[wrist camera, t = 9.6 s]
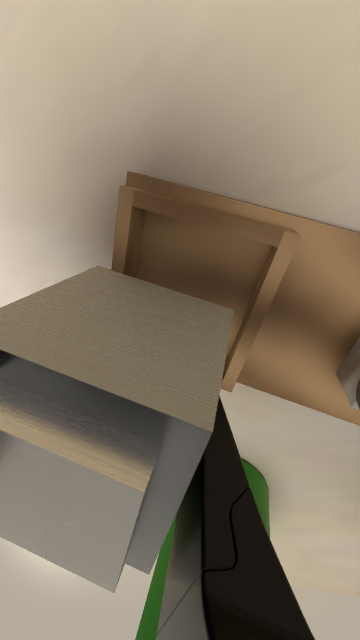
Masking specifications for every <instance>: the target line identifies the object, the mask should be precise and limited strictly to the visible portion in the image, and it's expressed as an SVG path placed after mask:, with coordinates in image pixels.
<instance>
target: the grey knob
mask: <svg viewBox="0 0 360 640" xmlns="http://www.w3.org/2000/svg"><path fill="white" fill-rule="evenodd" d="M356 400H357V404H358V407H359V409H360V379H359V381H358V384H357V388H356Z"/></svg>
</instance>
